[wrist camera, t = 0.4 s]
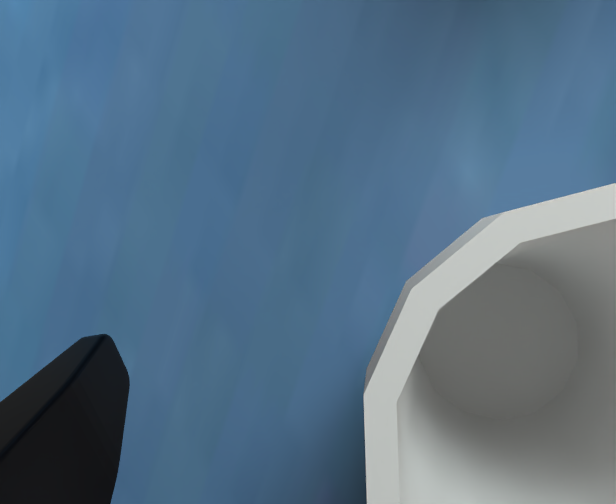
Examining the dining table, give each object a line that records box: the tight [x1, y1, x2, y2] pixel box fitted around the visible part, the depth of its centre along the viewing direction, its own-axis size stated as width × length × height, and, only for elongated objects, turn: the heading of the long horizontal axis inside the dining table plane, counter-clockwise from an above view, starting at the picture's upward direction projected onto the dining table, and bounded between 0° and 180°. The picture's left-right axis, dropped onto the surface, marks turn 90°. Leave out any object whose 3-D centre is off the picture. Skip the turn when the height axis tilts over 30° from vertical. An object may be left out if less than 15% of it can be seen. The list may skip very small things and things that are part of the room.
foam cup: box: [364, 183, 616, 504], centre depth 17 cm, size 10×9×13 cm
